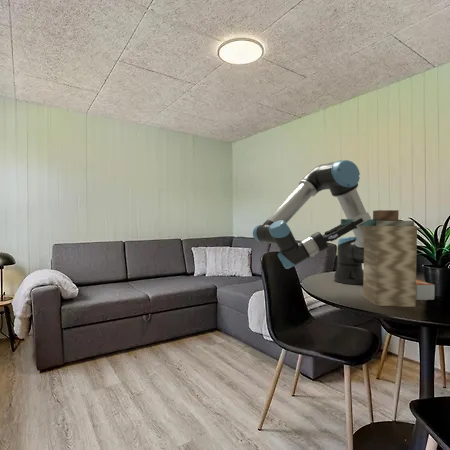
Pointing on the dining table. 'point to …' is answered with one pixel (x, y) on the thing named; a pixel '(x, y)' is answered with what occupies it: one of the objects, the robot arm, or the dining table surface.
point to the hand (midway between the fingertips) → (367, 215)
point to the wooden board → (390, 263)
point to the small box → (424, 290)
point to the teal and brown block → (377, 217)
